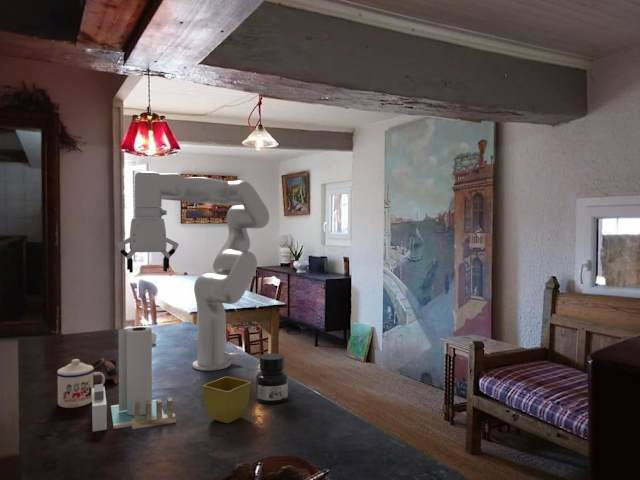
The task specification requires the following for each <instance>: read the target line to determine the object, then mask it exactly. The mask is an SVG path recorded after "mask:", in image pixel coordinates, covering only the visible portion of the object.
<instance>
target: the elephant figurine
mask: <svg viewBox="0 0 640 480" xmlns="http://www.w3.org/2000/svg"><path fill="white" fill-rule="evenodd" d="M159 335H160V333H158V334H156V333H155V331H153V330H152V345H155V344H156V342H157V338H158V337H157V336H159Z"/></svg>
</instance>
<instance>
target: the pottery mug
mask: <svg viewBox="0 0 640 480" xmlns="http://www.w3.org/2000/svg"><path fill="white" fill-rule="evenodd" d="M90 365H91V366H93V368H94V371H93V373H94V372H101V373H103V374H106V376H107V377H112V380H113V382H114V383H113V384H115V385H117V384H119V373H118V370H117V361H116V360H115V359H114V358H112V357H111V358H108V359H105V358H100V359H97V360H95V361H93V362H92V363H91V364H90ZM96 377H97V375H95V376H93V380H97V379H96Z"/></svg>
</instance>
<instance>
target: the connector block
mask: <svg viewBox="0 0 640 480" xmlns="http://www.w3.org/2000/svg"><path fill="white" fill-rule="evenodd" d="M105 389H106V388H105V386H104V385H103V384H98V383H97V384H93V388H92V402H91V417H92V420H91V421H92V424H91V425H92V432H93V433H94V432H98V431H99V432H100V431H106V430H107V428H108V427H107V425H108V424H107V419H108V418H107V415H108V413H107V411H108V410H107V409H108V407H107V405H108V404H107V398H106V397H107V396H106V390H105Z"/></svg>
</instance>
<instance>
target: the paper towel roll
mask: <svg viewBox="0 0 640 480" xmlns="http://www.w3.org/2000/svg"><path fill="white" fill-rule="evenodd" d="M152 331H153V330H152V328H151V327H147V326H139V327H137V326H136V327H128V328H121V329H120V328H119V329H118V375H119V382H118V405H119V411H124V410H127V414H129V415H133V416H135V402H139V403H140V415H144V414H146V401H149V400H150V402H151V410H152V400H153V397H152V395H153V394H152V393H153V386H152V385H153V381H152V379H153V377H152V375H153V374H152V372H153V371H152V370H153V369H152V368H153V366H152V365H153V363H152V362H153V360H152V358H153V356H152V355H153V354H152V351H153V349H152V348H153V347H152V346H153V344H152Z"/></svg>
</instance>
